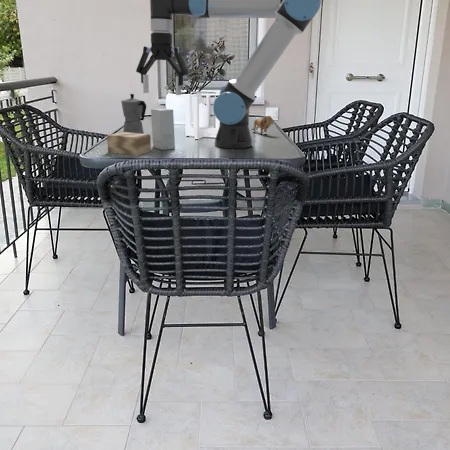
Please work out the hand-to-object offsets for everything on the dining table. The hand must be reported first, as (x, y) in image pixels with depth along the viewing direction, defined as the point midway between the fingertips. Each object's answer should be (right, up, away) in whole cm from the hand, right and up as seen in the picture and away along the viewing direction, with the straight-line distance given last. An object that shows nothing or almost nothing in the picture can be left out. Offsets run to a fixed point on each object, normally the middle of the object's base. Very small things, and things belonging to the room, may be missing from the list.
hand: (162, 93), depth 178 cm
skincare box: (0, -19, +7) cm, 21 cm away
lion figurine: (+41, -6, +49) cm, 64 cm away
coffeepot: (-16, -10, +32) cm, 37 cm away
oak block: (-12, -22, -2) cm, 25 cm away
